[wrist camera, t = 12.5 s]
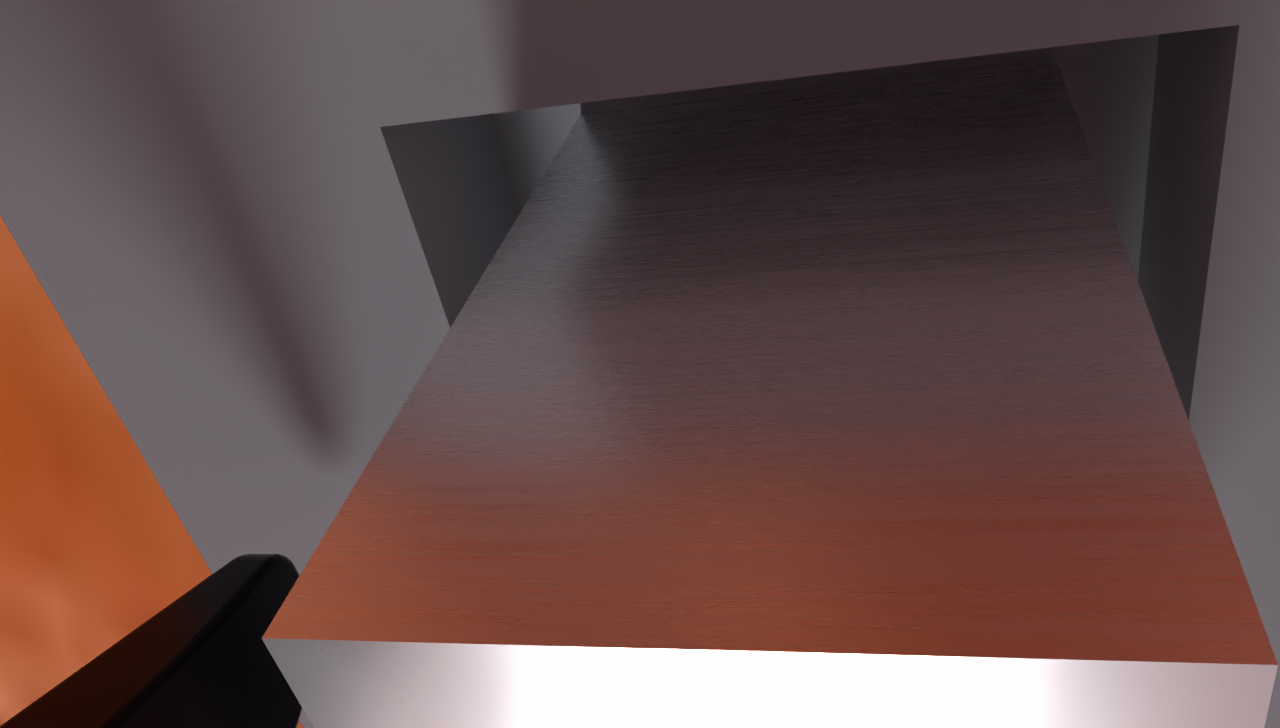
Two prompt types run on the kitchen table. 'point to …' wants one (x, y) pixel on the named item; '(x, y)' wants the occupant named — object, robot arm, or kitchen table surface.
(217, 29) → the pallet
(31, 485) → the kitchen table surface
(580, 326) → the block
